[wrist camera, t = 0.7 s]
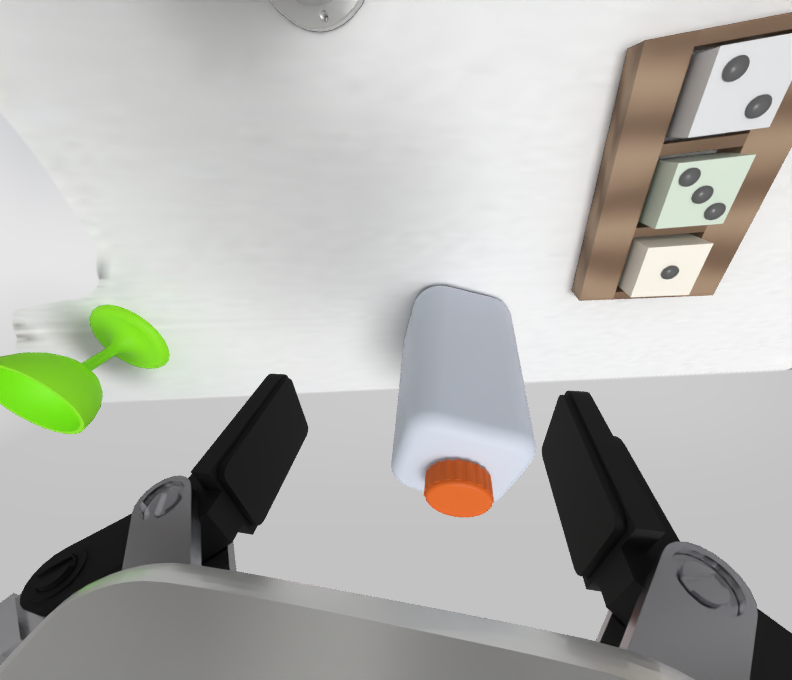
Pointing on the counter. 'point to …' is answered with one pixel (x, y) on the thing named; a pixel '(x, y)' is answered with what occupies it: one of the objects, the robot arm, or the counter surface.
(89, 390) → the wineglass
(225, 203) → the counter surface
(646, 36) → the counter surface
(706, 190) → the three dot tile
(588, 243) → the wooden tile tray
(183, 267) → the counter surface
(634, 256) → the one dot tile
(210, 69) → the counter surface
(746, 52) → the two dot tile
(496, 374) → the plastic bottle
